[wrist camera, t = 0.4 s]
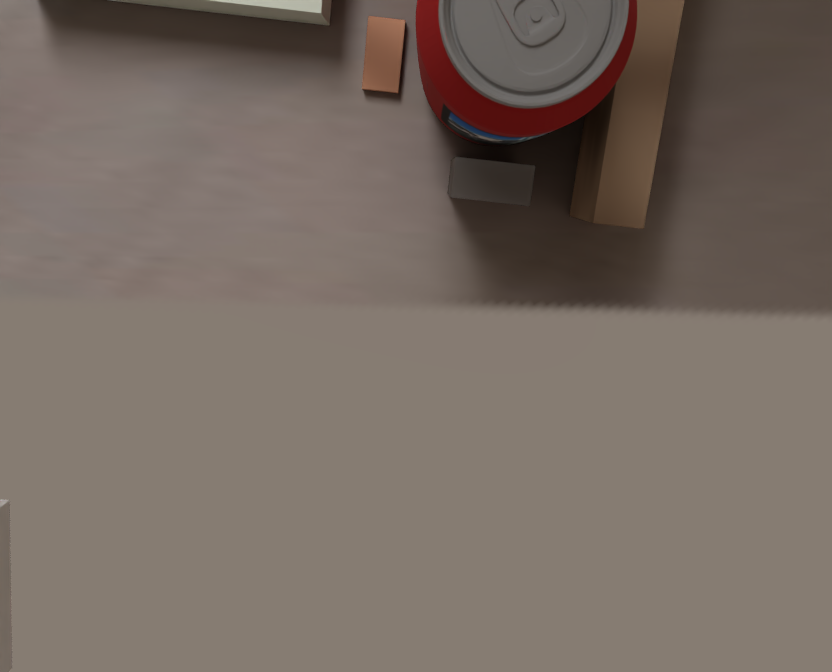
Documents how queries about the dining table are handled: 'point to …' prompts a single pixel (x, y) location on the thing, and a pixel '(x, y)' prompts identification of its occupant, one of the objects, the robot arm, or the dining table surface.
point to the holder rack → (602, 132)
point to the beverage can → (520, 62)
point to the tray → (255, 8)
